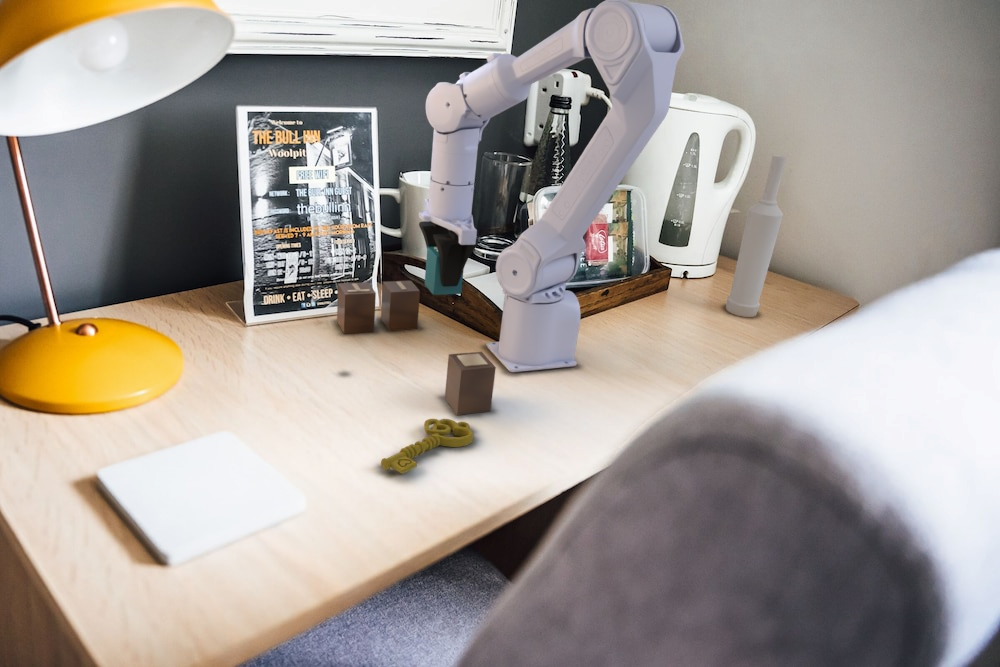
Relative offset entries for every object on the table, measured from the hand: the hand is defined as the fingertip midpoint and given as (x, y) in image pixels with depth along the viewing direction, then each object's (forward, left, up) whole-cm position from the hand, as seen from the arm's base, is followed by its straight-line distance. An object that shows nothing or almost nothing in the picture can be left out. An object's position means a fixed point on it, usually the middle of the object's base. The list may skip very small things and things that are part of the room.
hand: (443, 279), depth 105 cm
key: (+12, +30, -6) cm, 33 cm away
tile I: (+6, 0, -6) cm, 9 cm away
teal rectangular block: (0, 0, -1) cm, 1 cm away
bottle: (-50, +4, -6) cm, 51 cm away
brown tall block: (+5, +23, -6) cm, 24 cm away
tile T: (+12, 0, -6) cm, 14 cm away
